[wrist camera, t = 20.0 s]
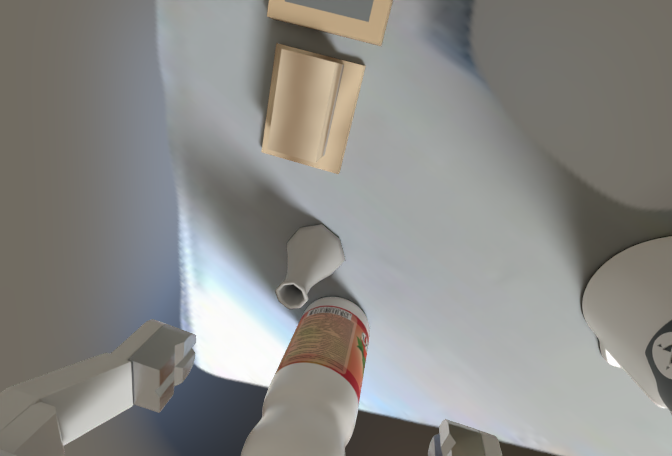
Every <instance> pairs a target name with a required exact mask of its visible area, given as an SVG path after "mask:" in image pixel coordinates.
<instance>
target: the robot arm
mask: <svg viewBox="0 0 672 456" xmlns="http://www.w3.org/2000/svg"><path fill="white" fill-rule="evenodd" d="M582 308H583V314H584V318H585V320H586V322H587V324H588V326H589V327H590V329H591V330H592V331H593V332H594V333H595V335H596V336H597V337H598V339H599V341H600V350H601V354H602V357H603V358H604V359H605V360H606V361H607V362H608V363H609V364H610V365H612V366H615V367H621V368H623V369H624V370H625V372H626V373H627V374H628V375H629V376H630V377H631V378H632V379H633V381H634V382H635V383H636V384H637V385H638V386H639V387H640V388H641V389H642V391H643V392H644V393H645V394H646V395H647V396H648V397H649V398H650V399H651V400H652V401H653V402H654V403H655V404H656V405H657V406H659V407H661V408H667V409H669V410H670V411H671V414H672V236H669V237H664V238H659V239H654V240H650V241H646V242H643V243H640V244H637V245H635V246H632V247H630V248H628V249H626V250H624V251H622V252H620V253H619V254H617V255H615V256H614V257H612V258H611V259H610V260H608V261H607V262H606V263H605V264H604V265H603V266H601V267H600V268H599V269H598V271H597V272H596V273H595V274H594V275H593V277H592V278H591V280H590V281H589V283H588V285H587V287H586V289H585V292H584V296H583V302H582ZM195 343H196V335H194V334H192V333H189V332H187V331H184V330H181V329H179V328H176V327H173V326H171V325H168V324H165V323H162V322H159V321H157V320H153V319H151V320H149V321H147V322H146V323H144V324H143V325H142V326H141V327H140V328H139V329H138V330H137V331H136V332H134V333H133V334H132V335H131V336H130V337H129V338H128V339H127V340H126V341H124V342H123V343H122V344H121V345H120V346H119V347H118V348H117V349H116V350H114V351H113V352H112V353H111V354H108V353H104V354H101V355H98V356H95V357H93V358H90V359H87V360H84V361H81V362H79V363H76V364H73V365H70V366H67V367H64V368H62V369H59V370H56V371H53V372H50V373H47V374H45V375H42V376H39V377H36V378H33V379H30V380H28V381H25V382H22V383H19V384H16V385H13V386H11V387H8V388H7V389H5V390H4V391H3V392H2V393H0V456H65V452H64V447H63V446H64V445H66V444H67V443H69V442H71V441H73V440H74V439H76V438H78V437H80V436H81V435H83V434H85V433H86V432H88V431H90V430H92V429H94V428H95V427H97V426H99V425H100V424H102V423H104V422H105V421H107V420H109V419H111V418H113V417H114V416H116V415H118V414H120V413H121V412H123V411H125V410H127V409H128V408H130V407H132V406H133V404H135V405H138V406H141V407H144V408H147V409H150V410H153V411H156V412H159V413H160V411H161V410H162V409H163V407H164V406H165V405H166V403H167V402H168V401H169V400H170V398H171V397H172V395H173V394H174V386H176V385H178V384H180V383H182V382H183V381H184V380H185V378H186V377H187V375H188V374H189V372H190V370H191V368H192V366H193V363H194V359H195V352H194V350H193V349H192V347H193V346H194V345H195ZM439 430H440V433H439V434H437V435H434V437H433V439H432V441H431V443H430V447H429V451H428V456H502V453H501V449H500V445H499V441H498V439H497V437H496V436H494V435H491V434H488V433H485V432H482V431H479V430H477V429H474V428H471V427H468V426H465V425H462V424H459V423H456V422H453V421H449V420H446V419H445V420H443V421H442V423H441V424H440V426H439Z"/></svg>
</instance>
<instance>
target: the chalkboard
mask: <svg viewBox="0 0 672 456" xmlns="http://www.w3.org/2000/svg"><path fill="white" fill-rule="evenodd" d="M392 2H393V0H269V4H268V12H267V16H268V17H270V18H272V19H275V20H279V21H283V22H287V23H291V24H295V25H299V26H303V27H307V28H311V29H315V30H319V31H323V32H327V33H331V34H335V35H339V36H343V37H347V38H351V39H355V40H359V41H363V42H367V43H371V44H375V45H379V46H381V45H382V41H383V37H384V34H385V30H386V26H387V22H388V18H389V14H390V10H391V6H392Z"/></svg>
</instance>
